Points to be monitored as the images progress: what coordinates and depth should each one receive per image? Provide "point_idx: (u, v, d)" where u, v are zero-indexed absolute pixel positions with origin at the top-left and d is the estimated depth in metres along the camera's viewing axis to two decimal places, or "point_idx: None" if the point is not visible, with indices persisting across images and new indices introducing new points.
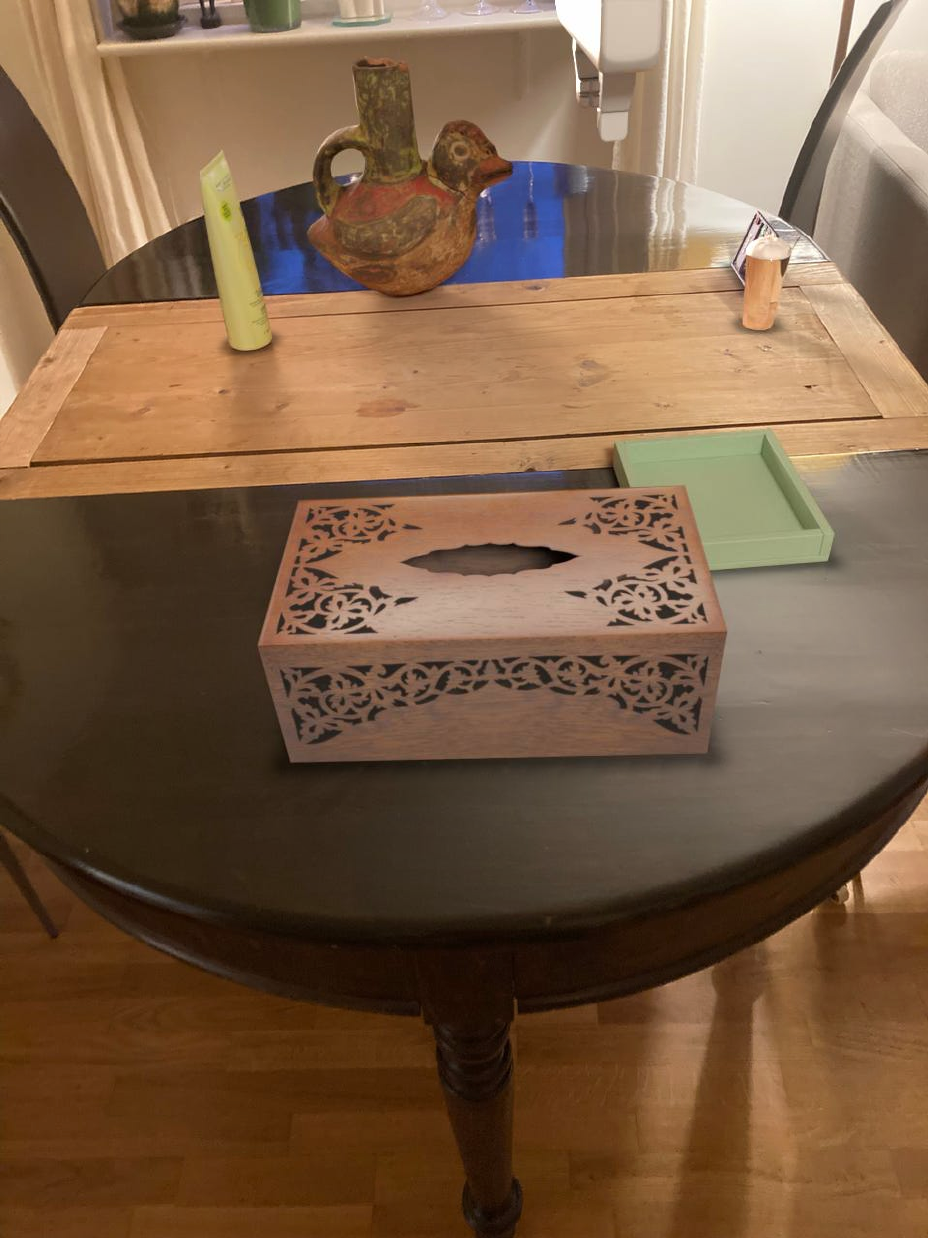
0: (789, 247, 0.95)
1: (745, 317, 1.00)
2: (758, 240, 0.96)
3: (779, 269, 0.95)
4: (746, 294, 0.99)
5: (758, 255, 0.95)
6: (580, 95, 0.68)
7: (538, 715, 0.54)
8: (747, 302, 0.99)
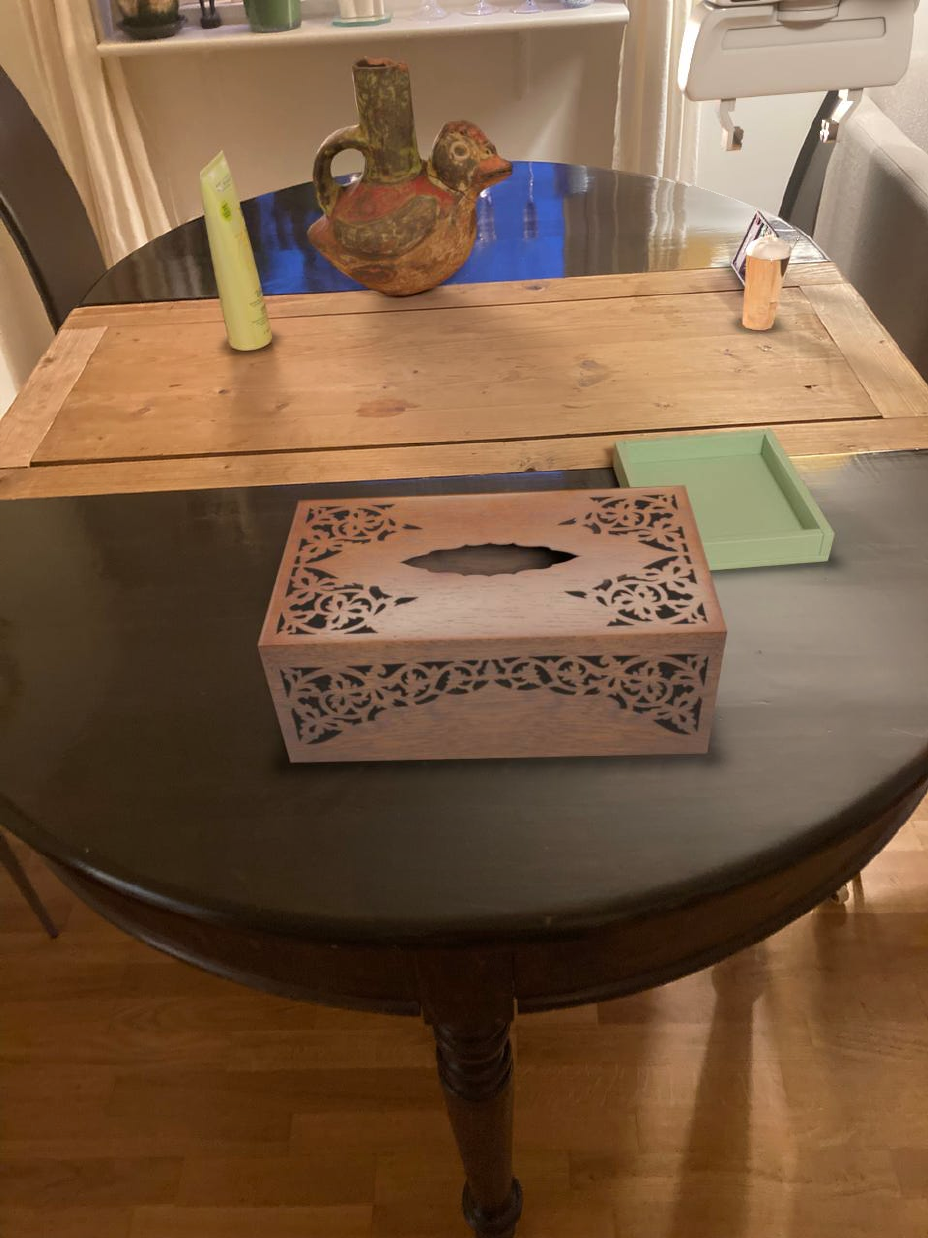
0: (789, 247, 0.95)
1: (745, 317, 1.00)
2: (758, 240, 0.96)
3: (779, 269, 0.95)
4: (746, 294, 0.99)
5: (757, 255, 0.95)
6: None
7: (538, 715, 0.54)
8: (747, 302, 0.99)
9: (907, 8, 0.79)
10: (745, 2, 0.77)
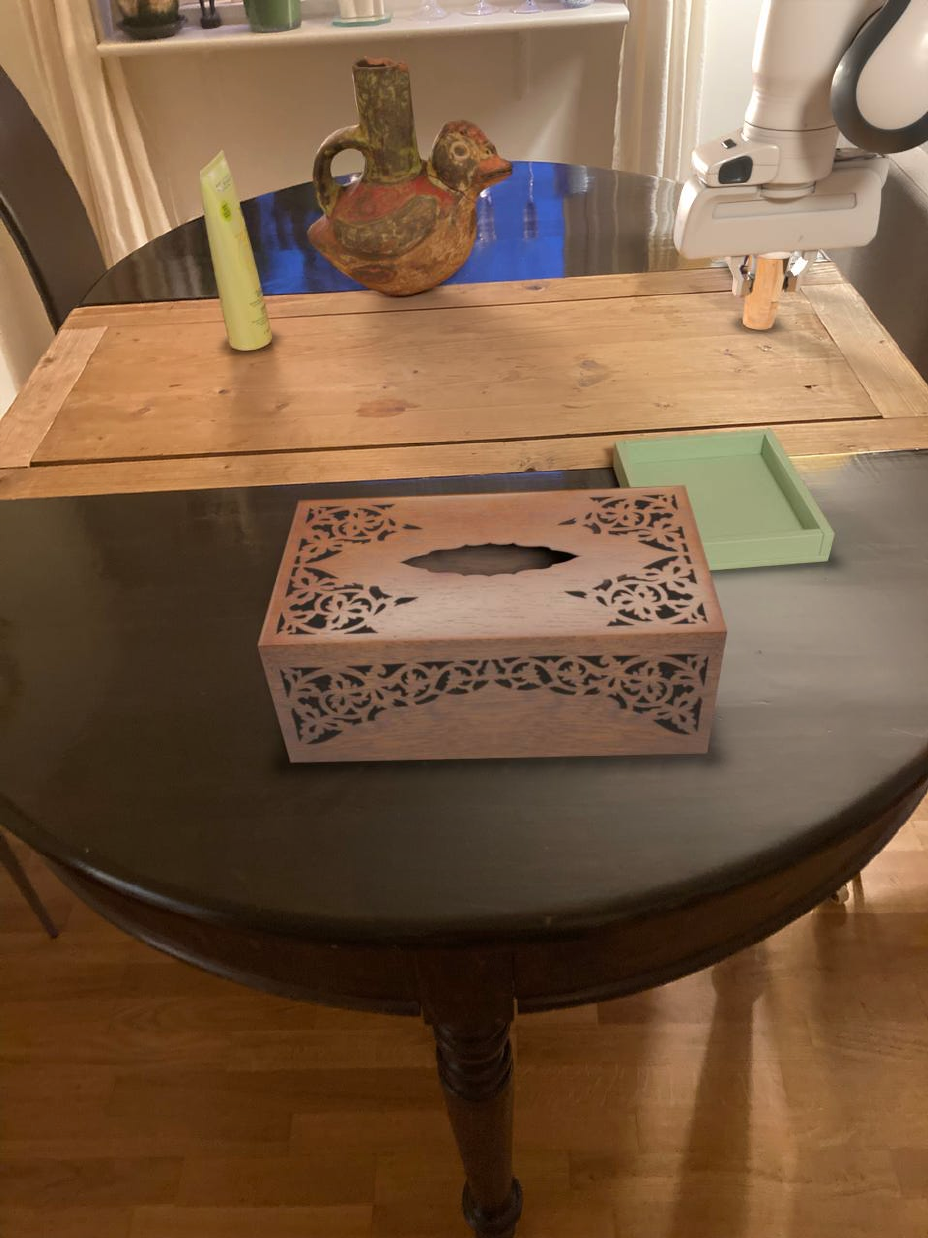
0: None
1: (745, 316, 1.00)
2: None
3: (781, 268, 0.95)
4: None
5: (760, 254, 0.95)
6: None
7: (538, 715, 0.54)
8: (748, 301, 0.99)
9: (875, 185, 0.90)
10: (732, 184, 0.88)
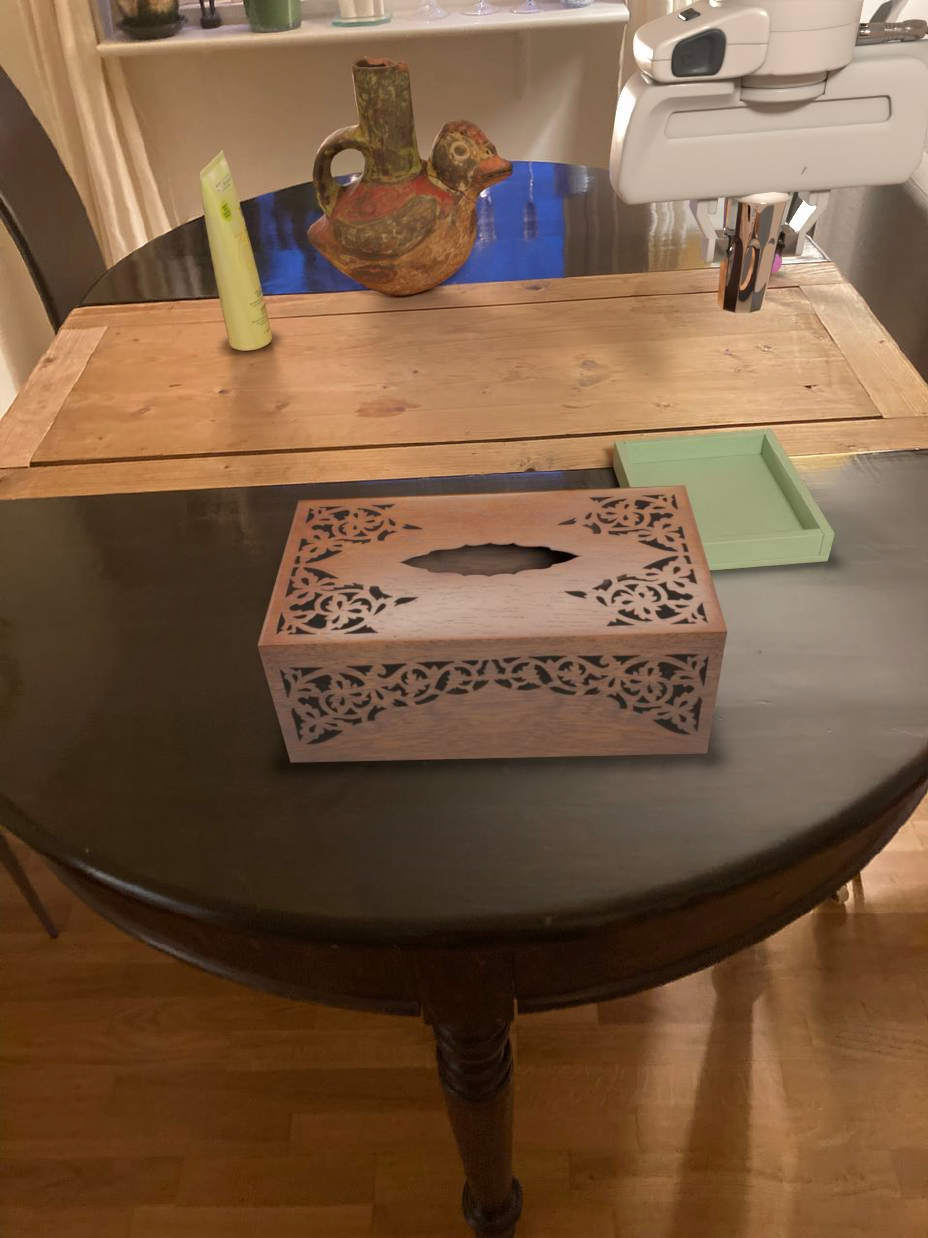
0: None
1: (721, 294, 0.67)
2: None
3: (774, 219, 0.62)
4: None
5: (742, 196, 0.62)
6: None
7: (538, 715, 0.54)
8: (724, 271, 0.66)
9: (921, 84, 0.57)
10: (694, 78, 0.55)
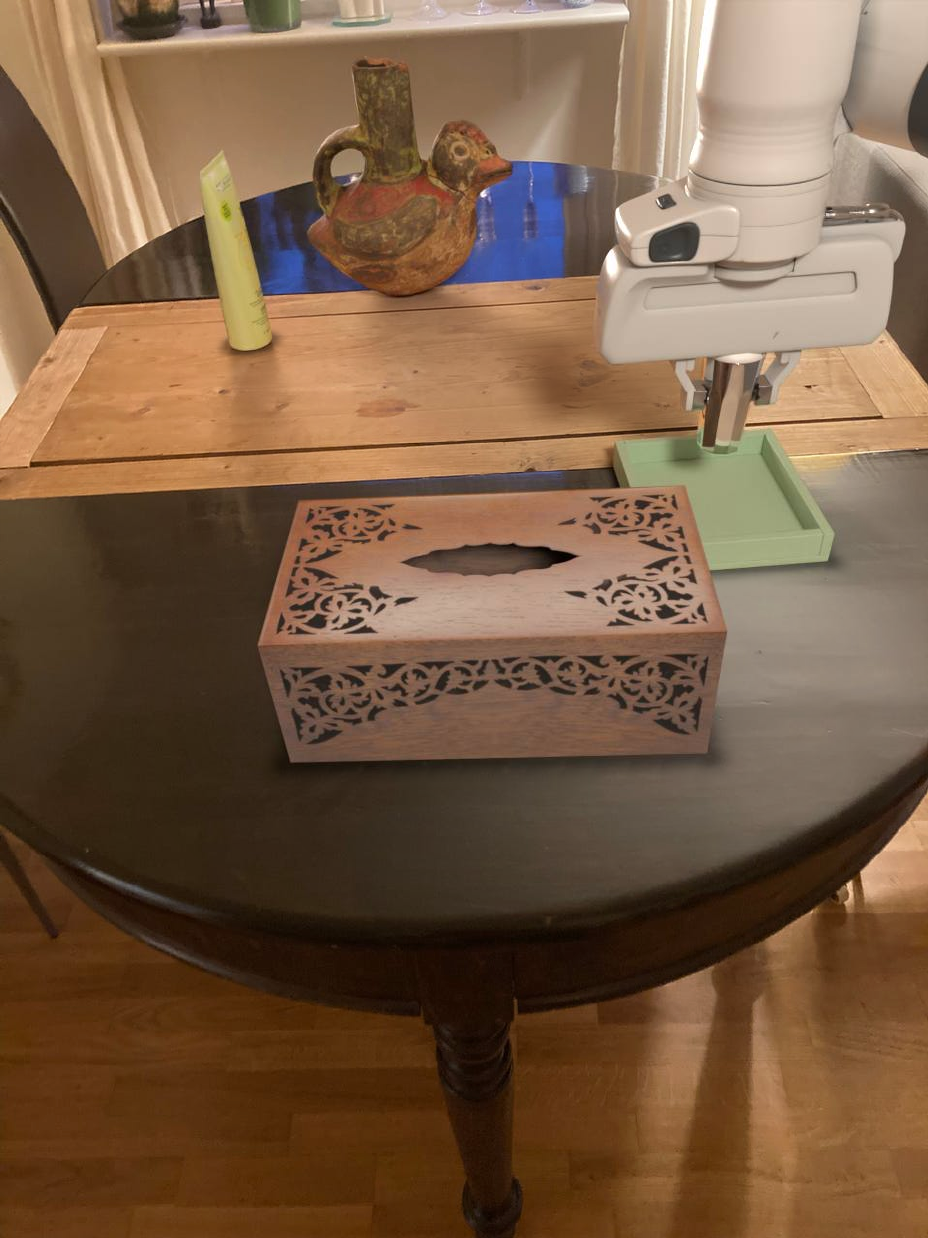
0: None
1: (700, 436, 0.71)
2: None
3: (748, 376, 0.66)
4: None
5: None
6: None
7: (538, 715, 0.54)
8: (703, 417, 0.70)
9: (884, 262, 0.61)
10: (670, 263, 0.59)
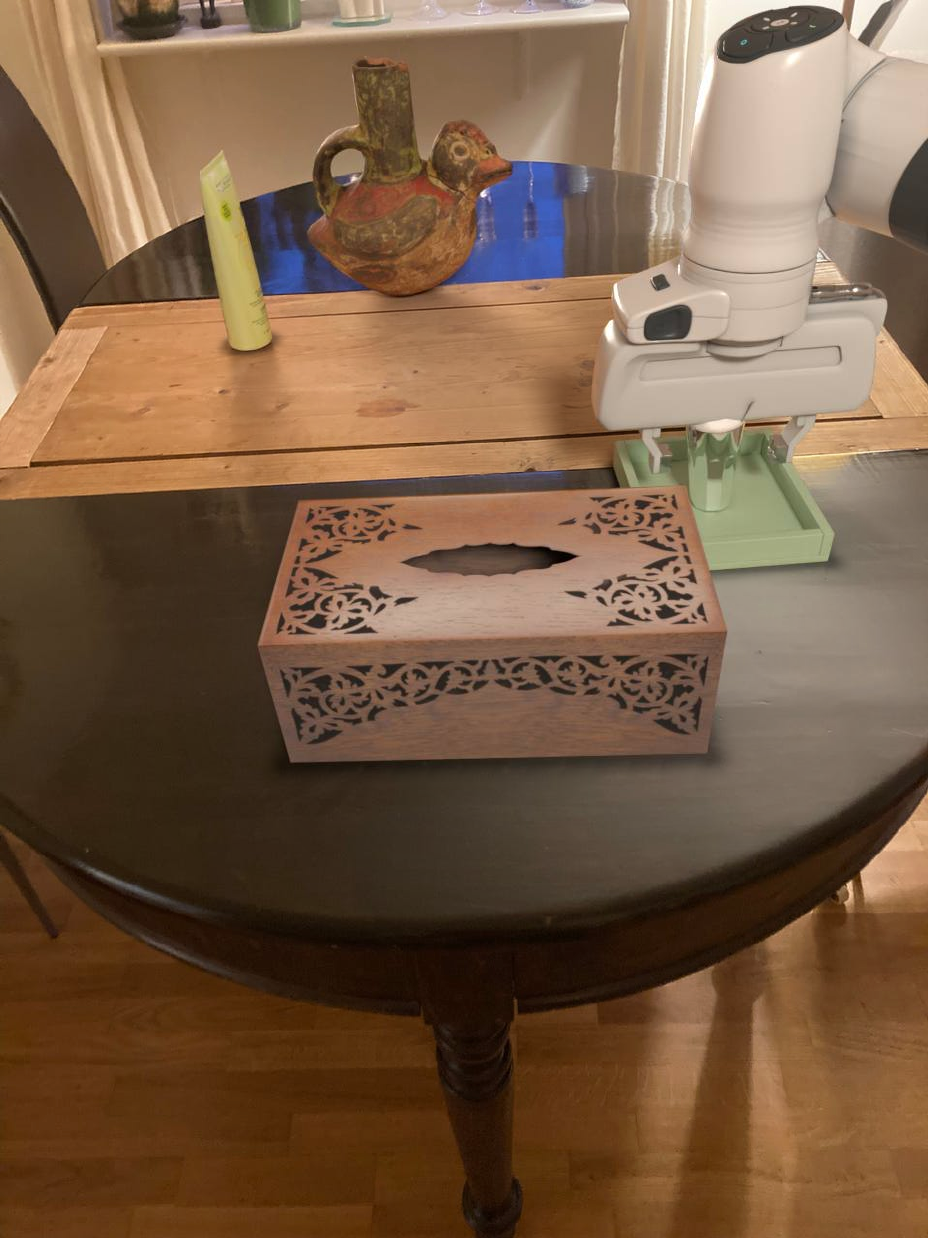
0: None
1: (692, 494, 0.74)
2: None
3: (730, 442, 0.69)
4: (690, 468, 0.73)
5: (698, 427, 0.69)
6: (670, 465, 0.71)
7: (538, 715, 0.54)
8: (692, 478, 0.73)
9: (867, 337, 0.64)
10: (664, 341, 0.62)
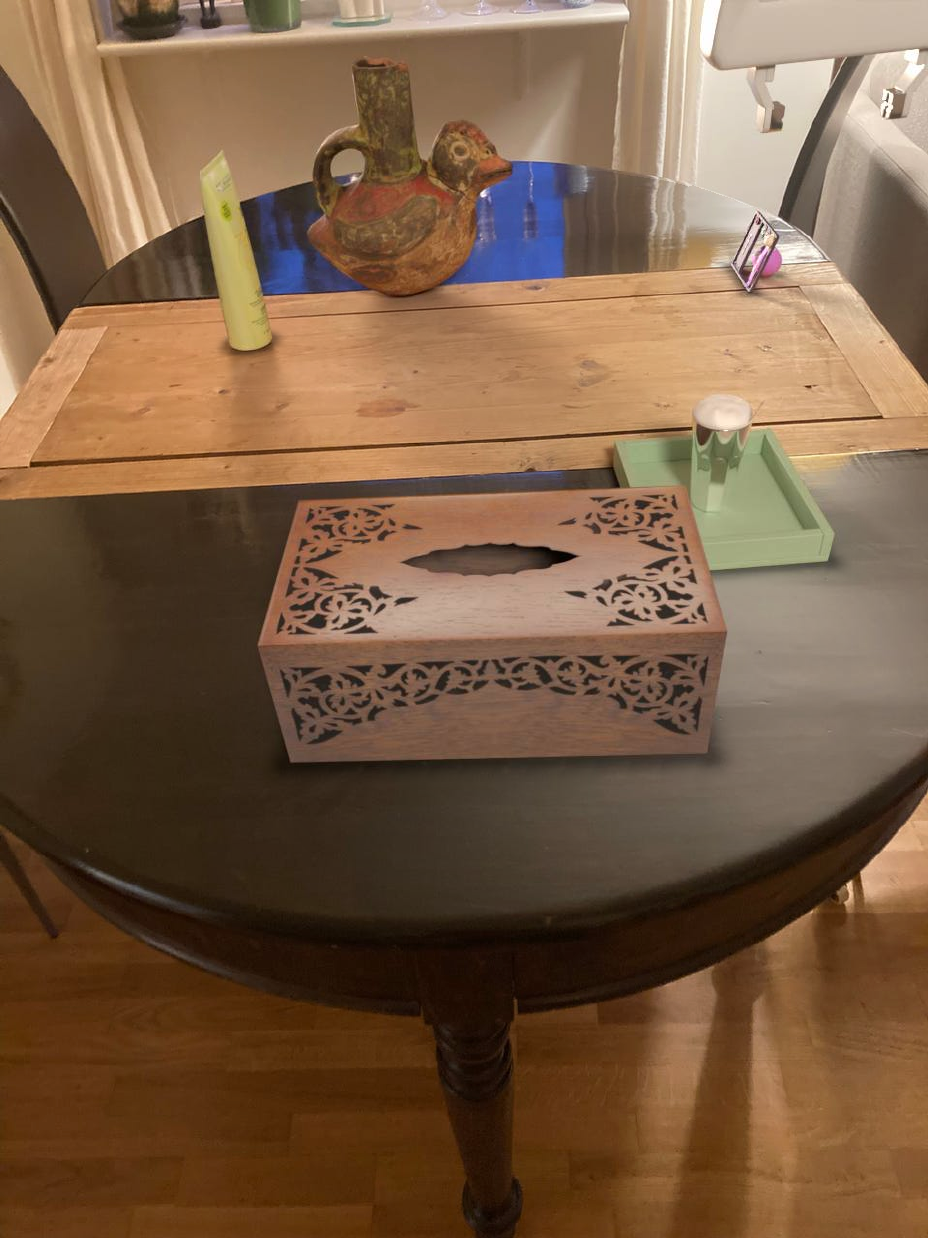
0: (750, 412, 0.69)
1: (693, 494, 0.74)
2: (708, 400, 0.70)
3: (736, 441, 0.69)
4: (694, 467, 0.73)
5: (706, 424, 0.69)
6: (781, 119, 0.69)
7: (538, 715, 0.54)
8: (695, 477, 0.73)
9: None
10: None
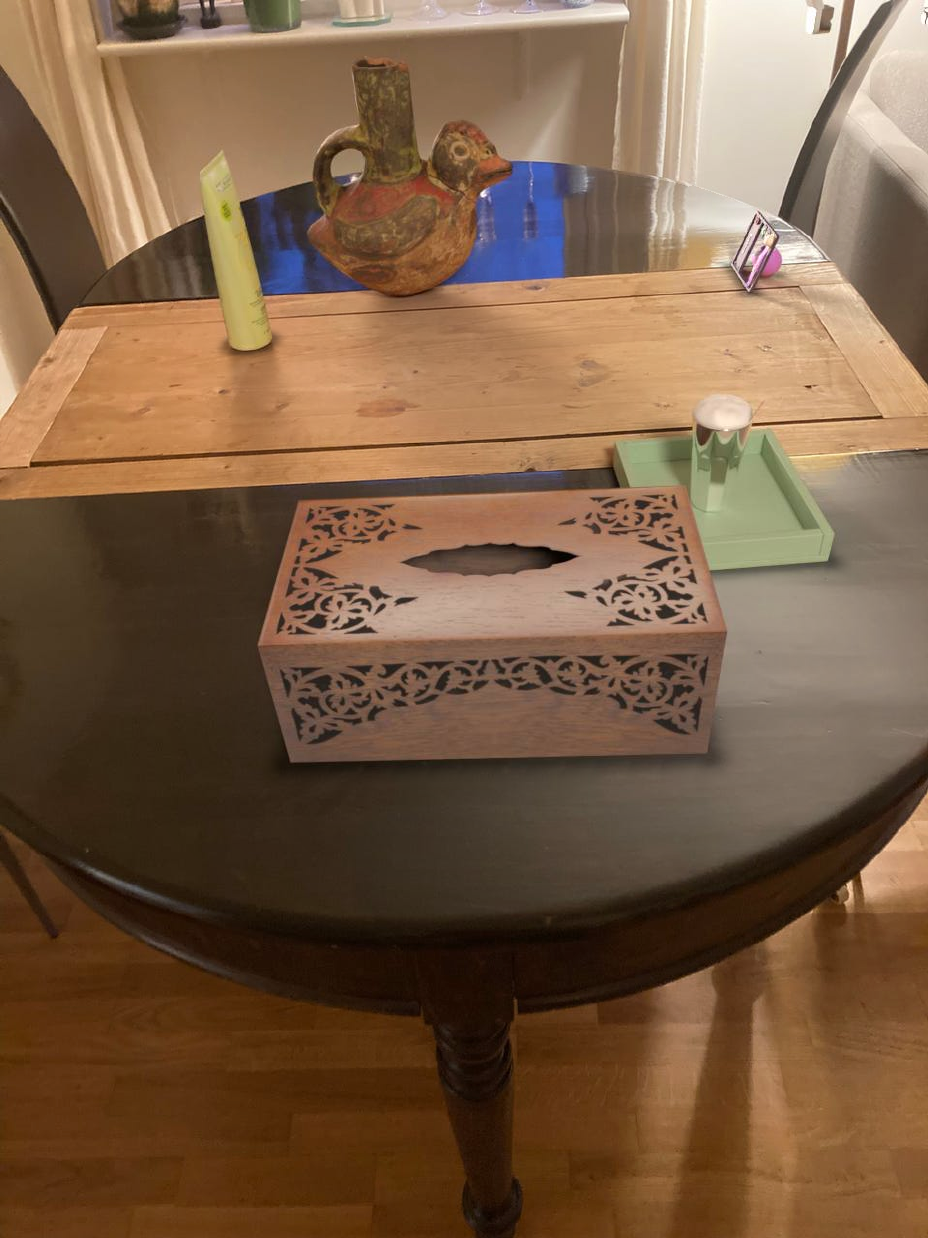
0: (750, 411, 0.69)
1: (693, 494, 0.74)
2: (708, 400, 0.70)
3: (736, 441, 0.69)
4: (694, 467, 0.73)
5: (706, 423, 0.69)
6: (830, 21, 0.73)
7: (538, 715, 0.54)
8: (695, 477, 0.73)
9: None
10: None
